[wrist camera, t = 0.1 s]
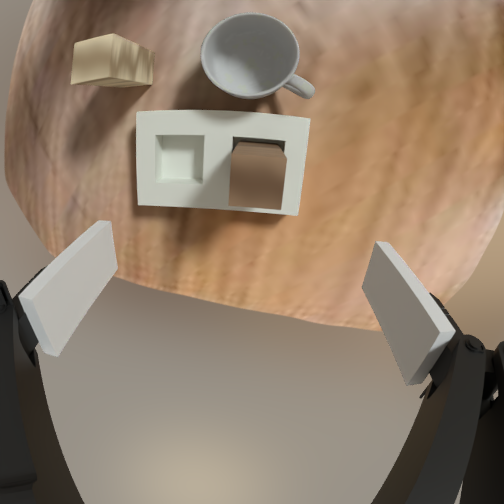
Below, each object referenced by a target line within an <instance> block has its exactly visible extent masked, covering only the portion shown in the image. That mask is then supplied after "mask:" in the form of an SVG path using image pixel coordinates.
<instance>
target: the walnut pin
mask: <svg viewBox="0 0 504 504" xmlns="http://www.w3.org/2000/svg"><path fill="white" fill-rule="evenodd" d="M286 164H287V158H286V156H285V154H284V153H283V151H282V150H281V148H280V147H279V145H278V144H277V143H266V142H255V141H241V140H240V141H239V143H238V144H237V146H236V147H235V149H234V150H233V152H232V154H231V169H230V185H229V203H228V206H237V207H250V208H262V209H274V210H281V207H282V199H283V190H284V182H285V173H286Z"/></svg>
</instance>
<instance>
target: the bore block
mask: <svg viewBox="0 0 504 504" xmlns="http://www.w3.org/2000/svg"><path fill="white" fill-rule="evenodd" d="M309 126H310V118H302V117H295V116H287V115H278V114H268V113H256V112H242V111H222V110H161V111H141V112H137V116H136V169H137V194H138V205H149V206H171V207H190V208H207V209H222V210H236V211H249V212H261V213H273V214H284V215H295V216H298V211H299V204H300V197H301V190H302V183H303V175H304V168H305V160H306V152H307V143H308V135H309ZM240 140H241V141H255V142H266V143H277V144H278V145H279V147H280V148H281V150H282V151H283V153H284V154H285V156H286V158H287V164H286V173H285V182H284V190H283V199H282V207H281V210H274V209H262V208H250V207H237V206H228V203H229V185H230V169H231V154H232V152H233V150H234V149H235V147H236V146H237V144H238V143H239V141H240Z"/></svg>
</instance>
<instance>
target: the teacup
mask: <svg viewBox="0 0 504 504" xmlns="http://www.w3.org/2000/svg"><path fill="white" fill-rule="evenodd" d="M299 52H300V51H299V46H298V42H297V40H296V37H295V36H294V34H293V32H292V31H291V30H290V29H289V28H288V27H287V26H286V25H285V24H284V23H283V22H281V21H280V20H278V19H276V18H274V17H272V16H269V15H266V14H262V13H240V14H236V15H233V16H230V17H228V18H226V19H224V20H222V21H221V22H219V23H218V24H216V25H215V26H214V27H213V28H212V29H211V30H210V31H209V33H208V34H207V35H206V37H205V39H204V41H203V43H202V47H201V62H202V67H203V69H204V72H205V74H206V75H207V77H208V78H209V79H210V81H211V82H212V83H213V84H214V85H216V86H217V87H218V88H220V89H221V90H223V91H224V92H226V93H228V94H230V95H232V96H234V97H238V98H242V99H257V98H262V97H265V96H268V95H270V94H272V93H274V92H276V91H277V90H278V89H280V88H281V87H284V88H286V89H288V90H290V91H291V92H293V93H295V94H297V95H299V96H301V97H302V98H305V99H310V98H311V97H312V96H313V95H314V93H315V88H314V87H313V86H312V85H311V84H310V83H309V82H308V81H306V80H305V79H303V78H301V77H299V76H297V75H295V74H294V72H295V70H296V68H297V65H298V62H299Z"/></svg>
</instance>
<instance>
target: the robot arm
mask: <svg viewBox="0 0 504 504" xmlns="http://www.w3.org/2000/svg"><path fill="white" fill-rule="evenodd" d="M117 269H118V266H117V260H116V254H115V248H114V241H113V234H112V226H111V221H100V220H98V221H97V222H96V223H95V224H94V225H92V226H91V227H90V228H89V229H88V230H86V231H85V232H84V233H83V234H82V235H81V236H80V237H78V238H77V239H76V240H75V241H74V242H73V243H72V244H71V245H69V246H68V247H67V248H66V249H65V250H64V251H63V252H62V253H61V254H60V255H59V256H58V257H56V258H55V259H54V260H53V261H52V262H51V263H50V264H49V265H48V266H46V267H44V268H43V269H41V270H40V271H39V272H38V273H37V274H36V275H35V276H34V278H32V279H31V280H30V281H29V283H27V284H26V285H25V286H24V287H23V288H22V289H21V290H20V291H19V292H18V294H16V296H15V297H14V298H13V299H12V298H11V296H10V293H9V291H8V288H7V285H6V283H5V282H4V281H3V280H0V504H84V502H83V500H82V498H81V496H80V494H79V492H78V490H77V487H76V485H75V483H74V481H73V479H72V476H71V474H70V471H69V469H68V466H67V464H66V461H65V458H64V456H63V454H62V450H61V447H60V445H59V442H58V439H57V435H56V432H55V429H54V426H53V422H52V419H51V415H50V412H49V408H48V404H47V400H46V395H45V391H44V387H43V382H42V377H41V371H40V366H39V360H38V354H37V352H36V350H35V347H36V345H37V344H38V342H39V344H40V346H41V348H42V350H43V352H44V353H46V354H49V355H52V356H55V357H59V354H60V353H61V351H62V350H63V348H64V347H65V345H66V343H67V342H68V340H69V339H70V337H71V335H72V334H73V332H74V331H75V329H76V328H77V326H78V325H79V323H80V322H81V320H82V318H83V317H84V315H85V314H86V313H87V311H88V310H89V308H90V307H91V305H92V304H93V302H94V301H95V300H96V298H97V297H98V295H99V294H100V292H101V291H102V290H103V288H104V287H105V285H106V284H107V282H108V281H109V280H110V279H111V277H112V276H113V275H114V273H115V272H116V271H117ZM362 289H363V291H364V293H365V295H366V297H367V299H368V301H369V303H370V305H371V307H372V309H373V311H374V313H375V315H376V318H377V320H378V322H379V324H380V326H381V328H382V330H383V332H384V335H385V337H386V339H387V341H388V343H389V346H390V348H391V350H392V352H393V355H394V357H395V359H396V362H397V364H398V366H399V369H400V371H401V374H402V376H403V378H404V381H405V383H406V385H407V386H408V385H414V384H420V383H422V382H423V381H424V379H425V378H426V377H427V375H428V374H429V373H430V375H431V377H432V381H431V382H430V384H429V385H428V386H427V388H426V389H425V390H424V391H423V393H422V394H421V395H420V398H422V397H423V396H424V395H425V396H424V399H423V402H422V404H421V407H420V410H419V412H418V415H417V417H416V419H415V422H414V424H413V426H412V429H411V431H410V433H409V435H408V438H407V440H406V442H405V444H404V446H403V448H402V450H401V452H400V455H399V456H398V458H397V460H396V462H395V464H394V466H393V468H392V470H391V471H390V473H389V475H388V477H387V479H386V481H385V482H384V484H383V486H382V487H381V489H380V490H379V492H378V494H377V495H376V497H375V498H374V500H373V502H372V503H371V504H454V503H455V500H456V498H457V495H458V492H459V489H460V487H461V484H462V481H463V485H462V491H461V498H460V504H504V341H503V342H500V344H499V345H498V346H497V348H496V349H495V351H493V350H487V349H485V347H484V345H483V343H482V342H481V341H480V340H479V339H477V338H476V337H474V336H472V335H463V333H462V331H461V330H460V329H459V327H458V326H457V324H456V323H455V321H454V320H453V318H452V317H451V316H450V315H449V313H448V312H447V310H446V309H444V306H443V305H442V303H441V302H440V300H439V299H437V298H436V297H435V296H434V295H433V294H431V293H429V292H428V291H427V290H426V288H425V287H424V286H423V285H422V283H421V282H420V281H419V279H418V278H417V277H416V275H415V274H414V273H413V272H412V270H411V269H410V268H409V267H408V265H407V264H406V263H405V262H404V260H403V259H402V258H401V257H400V256H399V254H398V253H397V252H396V251H395V250H394V248H393V247H392V246H391V245H390V244H389V243H388V242H380V241H375V244H374V248H373V252H372V255H371V259H370V262H369V265H368V269H367V272H366V275H365V279H364V282H363V285H362ZM497 390H498V397H497V398H496V399H495V400H494V399H493V394H494V393H495V392H496V391H497Z"/></svg>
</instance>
